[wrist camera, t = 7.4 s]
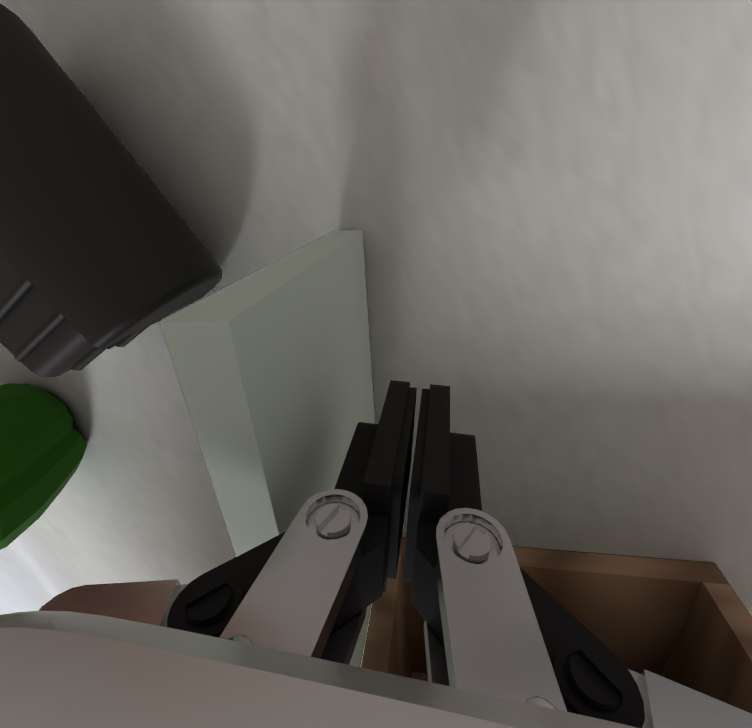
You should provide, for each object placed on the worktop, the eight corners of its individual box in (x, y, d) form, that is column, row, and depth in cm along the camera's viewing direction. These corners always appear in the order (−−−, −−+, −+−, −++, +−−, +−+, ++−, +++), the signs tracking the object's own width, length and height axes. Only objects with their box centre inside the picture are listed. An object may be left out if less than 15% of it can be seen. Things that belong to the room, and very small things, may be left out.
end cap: (256, 257, 17) (153, 303, 11) (161, 332, 20) (38, 402, 14) (81, 27, 14) (-185, -78, 8) (-2, 152, 17) (-247, 141, 11)
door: (382, 538, 23) (339, 784, 14) (344, 534, 24) (278, 771, 14) (362, 229, 15) (227, 322, 6) (305, 231, 16) (95, 321, 6)
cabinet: (398, 659, 30) (374, 894, 20) (384, 536, 24) (340, 787, 14) (654, 696, 26) (773, 998, 17) (715, 563, 20) (959, 920, 11)
